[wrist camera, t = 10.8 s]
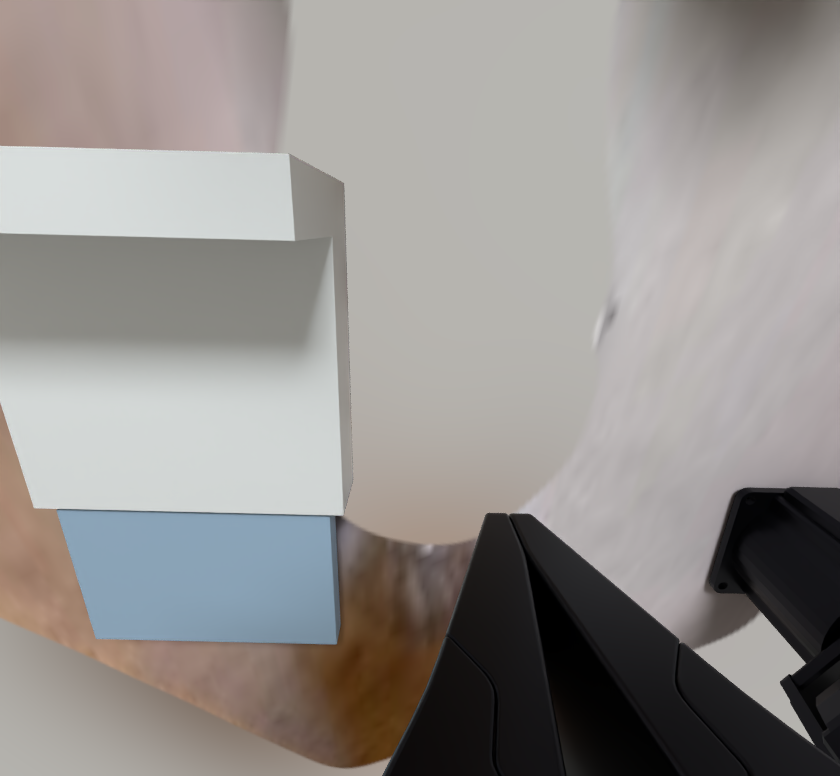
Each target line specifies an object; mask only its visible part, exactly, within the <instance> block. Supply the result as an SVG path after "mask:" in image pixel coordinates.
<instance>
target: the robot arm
mask: <svg viewBox="0 0 840 776" xmlns="http://www.w3.org/2000/svg"><path fill="white" fill-rule="evenodd" d="M748 497H750V498H749V499H747V498H748ZM746 499H747V500H746ZM709 583H710V585H711V587H712V588H713V589H714V590H715V591H716V592H718V593H740V594H746V595H747V596H748V597H749V599H750V600H751V601H752V602H753V603H754V604H755V605H756V606H757V608H758V609H759V610H760V611H761V612H762V613H763V614H764V616H765V617H766V618H767V619H768V620H769V621H770V622H771V624H772V625H773V626H774V627H775V628H776V629H777V630H778V632H779V633H780V634H781V635H782V636H783V637H784V638H785V640H786V641H787V642H788V643H789V644H790V645H791V646H792V647H793V649H794V650H795V651H796V652H797V653H798V654H799V656H800V657H801V658H802V659H803V660H804V661H805V662H806V664H805V665H804V666H803V667H802V668H801V669H799V670H798V671H797V672H796V673H794V674H793V675H790V674H789V675H788V676H786V677H785V678H784V679H783V680H782V681H780V684H781V686H782V687H783V689H784V691H785V692H786V694H787V696H788V697H789V699H790V703H791V705H792V707H793V709H794V710H795V712H796V714H797V715H798V717H799V719H800V720H801V722H802V724H803V726H804V727H805V729H806V731H807V732H808V734H809V736H810V737H811V739H812V741H813V743H814V744H815V745H813V744H812V743H810V742H809V741H808V740H806V739H805V738H804V737H802V736H801V735H799V734H798V733H797V732H795V731H794V730H793V729H792V728H790V727H789V726H787V725H786V724H785V723H783V722H782V721H781V720H779V719H778V718H777V717H776V716H774V715H773V714H772V713H770V712H769V711H768V710H766V709H765V708H764V707H762V706H761V705H760V704H759V703H757V702H756V701H755V700H753V699H752V698H751V697H749V696H748V695H747V694H745V693H744V692H743V691H742V690H740V689H739V688H738V687H737V686H735V685H734V684H733V683H732V682H730V681H729V680H728V679H727V678H725V677H724V676H723V675H722V674H721V673H719V672H718V671H717V670H716V669H714V668H713V667H712V666H711V665H710V664H708V663H707V662H706V661H704V660H703V659H702V658H701V657H700V656H699V655H698V654H696V653H695V652H694V651H693V650H692V649H690V648H689V647H688V646H687V645H686V644H684V643H680V644H679V639H678V638H677V637H676V636H675V635H674V634H672V633H671V632H670V631H669V630H668V629H666V628H665V627H664V626H663V625H662V624H661V623H659V622H658V621H657V620H656V619H655V618H653V617H652V616H651V615H650V614H649V613H647V612H646V611H645V610H644V609H643V608H642V607H640V606H639V605H638V604H637V603H636V602H634V601H633V600H632V599H631V598H630V597H628V596H627V595H626V594H625V593H624V592H623V591H621V590H620V589H619V588H618V587H617V586H615V585H614V584H613V583H612V582H611V581H610V580H608V579H607V578H606V577H605V576H604V575H602V574H601V573H600V572H599V571H598V570H596V569H595V568H594V567H593V566H592V565H591V564H589V563H588V562H587V561H586V560H585V559H583V558H582V557H581V556H580V555H579V554H577V553H576V552H575V551H574V550H573V549H572V548H570V547H569V546H568V545H567V544H566V543H564V542H563V541H562V540H561V539H560V538H559V537H557V536H556V535H555V534H554V533H553V532H551V531H550V530H549V529H548V528H547V527H545V526H544V525H543V524H542V523H541V522H540V521H538V520H537V519H536V518H535V517H534V516H532V515H531V514H514V513H512V514H510V515H509V516H508V515H507V514H505V513H487V514H486V515H485V518H484V521H483V524H482V527H481V530H480V533H479V536H478V539H477V542H476V545H475V548H474V551H473V554H472V557H471V560H470V563H469V566H468V569H467V572H466V575H465V578H464V581H463V584H462V587H461V590H460V593H459V596H458V599H457V602H456V605H455V608H454V611H453V614H452V617H451V620H450V623H449V626H448V629H447V632H446V635H445V638H444V640H443V643H442V646H441V649H440V652H439V655H438V658H437V661H436V663H435V666H434V668H433V671H432V674H431V676H430V679H429V682H428V684H427V687H426V689H425V691H424V693H423V695H422V697H421V700H420V702H419V704H418V706H417V708H416V710H415V712H414V715H413V717H412V719H411V721H410V723H409V725H408V727H407V729H406V731H405V732H404V734H403V736H402V738H401V740H400V742H399V744H398V746H397V748H396V750H395V752H394V754H393V756H392V758H391V760H390V762H389V764H388V765H387V768H386V769H385V771H384V773H383V775H382V776H840V489H839V488H816V487H790V488H786V489H783V488H743V489H741V490H740V491H739V492H738V493H737V494H736V496H735V500H734V503H733V506H732V509H731V513H730V516H729V519H728V522H727V525H726V529H725V532H724V535H723V538H722V542H721V545H720V548H719V551H718V554H717V558H716V561H715V564H714V567H713V571H712V574H711V577H710V580H709Z"/></svg>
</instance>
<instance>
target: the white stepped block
mask: <svg viewBox="0 0 840 776" xmlns="http://www.w3.org/2000/svg"><path fill="white" fill-rule="evenodd" d="M345 233H346V231H345V200H344V183H342V182H341V181H339V180H337V179H335V178H333V177H331V176H330V175H328V174H326V173H324V172H322V171H320V170H319V169H317V168H315V167H313V166H311V165H309V164H307V163H306V162H304V161H302V160H300V159H298V158H296V157H294V156H292V155H291V154H285V153H247V152H209V151H171V150H133V149H95V148H57V147H19V146H0V403H1V406H2V409H3V412H4V415H5V418H6V421H7V425H8V428H9V431H10V434H11V437H12V440H13V443H14V446H15V450H16V453H17V456H18V459H19V462H20V465H21V468H22V471H23V475H24V478H25V481H26V484H27V487H28V490H29V493H30V496H31V500H32V503H33V506H34V508H48V509H90V510H131V511H173V512H214V513H256V514H297V515H339V516H344V512H345V508H346V504H347V501H348V497H349V494H350V490H351V486H352V483H353V460H352V459H353V458H352V427H351V396H350V395H351V393H350V361H349V330H348V329H349V328H348V296H347V263H346V234H345Z"/></svg>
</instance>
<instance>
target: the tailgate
mask: <svg viewBox="0 0 840 776" xmlns="http://www.w3.org/2000/svg"><path fill="white" fill-rule="evenodd" d="M57 513H58V516H59V520H60V523H61V526H62V530H63V533H64V536H65V539H66V543H67V546H68V549H69V552H70V556H71V559H72V562H73V565H74V569H75V572H76V575H77V578H78V582H79V585H80V588H81V591H82V595H83V598H84V601H85V604H86V608H87V611H88V614H89V617H90V621H91V624H92V627H93V631H94V634H95V637H96V639H127V640H170V641H213V642H256V643H299V644H337V640H338V635H339V631H340V626H341V623H340V602H339V582H338V562H337V542H336V522H335V515H297V514H256V513H214V512H173V511H131V510H90V509H57Z"/></svg>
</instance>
